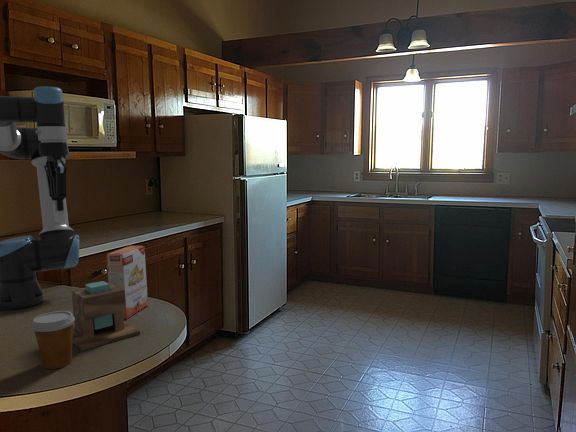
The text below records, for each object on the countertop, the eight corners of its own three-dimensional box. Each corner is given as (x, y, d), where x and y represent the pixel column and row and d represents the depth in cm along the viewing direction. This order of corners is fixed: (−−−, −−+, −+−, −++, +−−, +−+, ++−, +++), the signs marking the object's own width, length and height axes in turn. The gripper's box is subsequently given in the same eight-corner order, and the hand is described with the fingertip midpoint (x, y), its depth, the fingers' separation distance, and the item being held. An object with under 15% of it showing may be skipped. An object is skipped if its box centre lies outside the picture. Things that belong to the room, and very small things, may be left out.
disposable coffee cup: (76, 368, 114) (71, 320, 112) (31, 375, 111) (26, 325, 110) (81, 353, 123) (77, 308, 121) (40, 358, 120) (35, 313, 119)
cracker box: (127, 320, 147) (122, 253, 144) (110, 319, 148) (104, 253, 146) (149, 305, 161) (145, 245, 158) (133, 305, 162) (128, 244, 159)
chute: (63, 334, 136) (59, 290, 135) (118, 320, 147) (115, 279, 145) (81, 350, 124) (77, 302, 123) (140, 334, 135) (137, 289, 133)
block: (88, 325, 136) (85, 284, 134) (106, 320, 139) (103, 280, 137) (95, 329, 132) (91, 287, 130) (112, 325, 135) (109, 284, 133)
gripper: (32, 142, 141) (40, 220, 145) (45, 141, 131) (53, 225, 135) (59, 141, 146) (66, 217, 150) (73, 141, 136) (80, 222, 140)
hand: (60, 221), depth 142 cm, fingers closed
